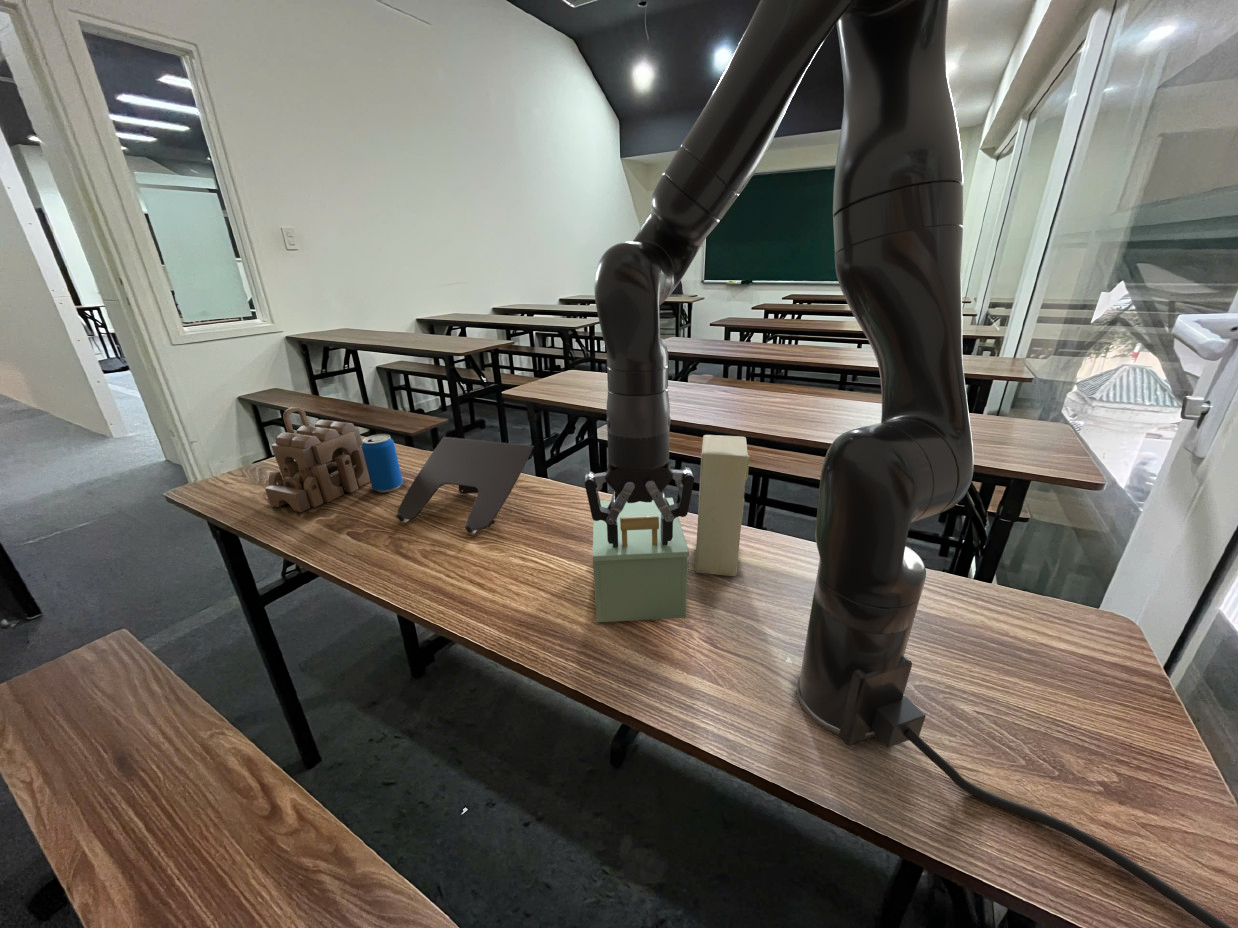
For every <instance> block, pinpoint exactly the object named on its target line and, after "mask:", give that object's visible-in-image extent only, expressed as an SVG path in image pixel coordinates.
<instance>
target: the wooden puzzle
mask: <svg viewBox="0 0 1238 928" xmlns="http://www.w3.org/2000/svg"><path fill="white" fill-rule="evenodd" d="M294 412H295V413H296V412H297V413H298V415H299V417H300V421H301V424H302V425H301V426H300V427H298V429H296V433H295V431H294V427H293V425H292V421H291V418H290V416H291V414H293V413H294ZM282 418H283V422H284V425H285V429H286V431H285V432H283V431H282V432H280V433H279V434H278V435H277V436H276V437H275V443H273V444H271V449H272V452H273V454H274V457H275V461H276V463H277V466H278V468H279V471H276V470H272V472H271V473H270V474H269V476H268V485H269V486H266V487H265V488H264V490H265V493H266V496H267V499H268V501H269V504H270V506H272V507H276V508H280V507H282V506H285V505H287V504H288V505H289V506H290V507H291V509H292V511H294V512H298V513H304V512H306V511H307V510H309V509H311V507H312V508H317V507H319V506H321V505H323V504H324V503H330V502H332V501H333V500H336V499H338V498H339V497H341V496H344V495H345V492H346V493H350V494H351V493H353V492H355V491H357V490H359V489H360V487H362V486H364V485H366V484H368V483H371V481H370V477H369V474H368V470H367V466H366V462H365V458H364V454H363V450H362V444H363V442H362V440H363V439H362V436H361V432H360V429H359V428H357V427H356V426H355V425H354V423H352V422H346V421H345V422H344V421H337V420H329V419H319V420H318V421H317V422H316V423H314V426H312V425H309V420H308V418H307V414H306V411H305V410H304V409H303V408H302V407H299V406H292V407H289V408H287V409H285V410H284V412H283V415H282Z"/></svg>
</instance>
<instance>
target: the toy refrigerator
mask: <svg viewBox="0 0 1238 928" xmlns="http://www.w3.org/2000/svg"><path fill="white" fill-rule="evenodd" d="M750 457H751V456H750V454H748V444H747V438H746V436H739V435H716V434H704V435H703V437H702V446H701V456H700V474H699V491H698V492H699V493H698V509H697V513H698V514H697V526H696V527H697V529H696V544H695V545H696V546H695V547H696V548H695V564H694V565H695V566H694V572H695V573H698V574H707V575H709V574H710V575H717V576H726V577H736V576H737V573H738V563H739V551H740V542H741V531H742V522H743V518H744V510H745V509H744V508H745V489H746V480H748V478H749V477H748V476H749V470H750V469H749V467H750V460H751V459H750Z"/></svg>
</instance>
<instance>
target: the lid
mask: <svg viewBox="0 0 1238 928" xmlns="http://www.w3.org/2000/svg"><path fill="white" fill-rule="evenodd" d="M666 499H667V501H668V503H669V505H673V504H675V502H674V498H673V497H666ZM610 501H611V499H610V500H600V503H601V507H605V508H608V505H609V503H610ZM617 524H618V547H617V548H613V544H609V542H608V539H607V524H606V522H605V521H602V520H599V521H594V520H593V519H592V562H593V561H609V560H630V559H651V558H673V557H688V558H689V557H690V550H689V547H688V543H687V540H686V537H685V534H684V530H683V527H682V524H681V521H680V516H679V517H676V518H675V519H674V520H673V538H672V540H671V541H668V545H662V542H661V512H660V510H659V509H658V508H657V506H656V504H655V502H654V500H652V502H641V501H639V502H635V503H627V502H626V504H625V506H624V508H623V510H622V511H621V512H620V514H619V516H618V518H617Z"/></svg>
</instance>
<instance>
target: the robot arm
mask: <svg viewBox="0 0 1238 928" xmlns="http://www.w3.org/2000/svg"><path fill="white" fill-rule="evenodd" d="M948 14H949V0H760V1H759V3H758V5H757V6H756V9H755V11H754V13H753V15H752V18H750V21H749V23H748V26H746V27H747V28H746V30H745V31H744V33H743V35H742V37H741V39H740V41H739V43H738V46H737V47H736V50H734V51H735V52H734V53H733V56H732V57H731V59H730V61H729V63H728V65H727V66H726V68H725V71H724V72H723V74H722V76H721V77H720V80H719V82H718V84H717V85H716V86H715V89H714V90H713V91H712V94H711V95H710V97H709V100H708V101H707V103H706V105H705V107H704V108H703V110H702V111H701V113H700V115H699V116H698V118H697V119H696V120H695V123H694V124H693V126H692V127H691V129H690V130H689V132H688V133H687V135H686V136H685V138H684V140H683V141H682V143H681V145H680V146H679V147H678V149H677V150H676V152H675V154H674V155H673V157H672V158H671V160H670V161H669V163H668V165H667V167H665V170H664V171H663V173H662V175H661V176H660V177H659V180H658V181H657V183H656V185H655V187H654V188H653V191H652V193H651V196H650V208H651V209H650V212H649V213H648V215H647V216H646V218H645V220H644V222H643V224H642V226H641V227H640V229H639V231H638V232H637V234H636V236H635V237H634V238H633V240H632V241H622V242H619V243H616V244H614V245H612V246H610V247H609V248H608V249H606V250H605V252H603V254H602V256H601V257H600V259H599V260H598V263H597V265H596V270H595V274H594V286H593V287H594V288H593V289H594V290H593V291H594V301H595V307H596V312H597V317H598V322H599V327H600V331H601V336H602V339H603V343H604V345H605V349H606V376H607V378H606V379H607V396H606V397H607V398H606V419H605V420H606V421H605V423H606V430H607V433H606V435H607V436H606V437H607V457H608V465H607V468H606V469H605V471H604V472H598V473H594V472H593V471H587V472H586V473H585V474H584V475H585V476H584V488H585V493H586V496H587V500H588V505H589V511H590V514H591V515H590V516H591V518H592V521H593V520H594V521H599V520H602V521H605V522H606V524H607V539H608V542H609V544H613V548H617V547H618V524H617V518H618V516H619V514H620V512H621V511H622V510H623V508H624V506H625V504H626V502H627V503H635V502H639V501H641V502H652V500H654V502H655V504H656V506H657V508H658V509H659V510H660V512H661V542H662V545H668V541H671V540H672V538H673V520H674V519H675V518H676V517H679V518H680V517H681V518H685V517H687V516H688V514H689V508H690V504H691V498H692V493H693V487H694V483H695V477H694V474H693V472H692V470H691V468H690V467H684V468H682V469H673V468H672V467H671V466H670V426H671V419H672V418H671V416H670V415H671V411H670V410H671V407H670V406H671V405H670V398H669V351H668V345H667V342H666V341H665V340H664V339H663V338H662V337H661V322H660V321H661V320H660V306H661V305H662V304H663V303H664V302H665V301H666V300H667V299H668V298H669V297H670V296H671V295H672V294H673V292H674V291H675V289H676V288H677V287H678V285H679V284H680V282H681V281H682V279H683V278H684V276H685V275H686V273H687V272H688V269H689V268H690V266H691V264H692V263H693V261H694V259H695V257H696V256H697V254H698V252H699V250H700V249H701V247H702V245H703V243H704V242H705V240H706V239H707V238H708V236H709V235H710V234H711V232H713V230H714V229H715V228H716V227H717V225H718V224H719V223H720V221H721V220H722V219H723V218H724V216H725V215H726V213H727V212H728V211H729V209H730V208H731V206H732V205H733V204H734V203H735V201H736V200H737V199H738V198H739V195H740V194H741V193H742V192H743V191H744V190H745V188H746V186H747V185H748V184H749V182H750V181H751V179H752V178H753V176H754V174H755V172H756V171H757V169H759V166H760V164H761V163H762V161H763V159H764V158H765V155H766V153H767V152H768V150H769V148H770V146H771V144H772V142H773V140H774V138H775V135H776V133H777V131H778V129H779V127H780V124H781V122H782V120H783V118H784V116H785V114H786V111H787V110H788V107H789V105H790V103H791V101H792V98H793V97H794V95H795V93H796V91H797V89H798V87H799V86H800V83H801V81H802V79H803V77H804V75H805V74H806V71H807V70H808V68H809V66H810V65H811V63H812V61H813V59H814V58H815V57H816V55H817V53H818V51H819V50H820V48H821V46H822V45H823V44H824V42H825V41H826V39H827V37H828V36H829V34H830V33H831V31H832V30H833V29H834V27H835V25H836V29H837V37H838V43H839V51H840V60H841V69H842V75H843V76H842V77H843V78H842V79H843V112H842V121H841V127H840V135H839V139H838V146H837V153H836V159H835V167H834V169H835V170H834V177H833V178H834V179H833V189H832V190H833V193H832V218H833V219H832V223H833V224H832V225H833V226H832V227H833V245H834V246H833V248H834V265H835V266H834V267H835V273H836V278H837V281H838V286H839V287H840V290H841V292H842V295H843V298H844V299H845V302H846V303H847V305H848V307H849V309H850V311H851V313H852V315H853V317H854V319H855V320H856V322H857V323H858V325H859V328H860V329H861V331H862V332H863V334H864V335H865V337H866V339H867V341H868V344H869V345H870V347H871V349H872V351H873V354H874V357H875V359H876V364H877V366H878V367H877V368H878V371H879V376H880V377H879V378H880V379H879V380H880V391H881V416H880V417H881V418H880V423H875V424H870V425H866V426H861V427H858V428H853V429H850V430H848V431H846V432H845V431H844V432H843V433H841V434H840V435H838V436H837V437H836V439H834V440H833V442H832V443H831V444H830V446H829V448H828V450H827V451H826V454H825V456H824V459H823V462H822V467H821V473H820V479H819V487H818V498H817V509H816V511H817V512H816V520H815V532H814V533H815V535H814V536H815V544H816V548H817V552H818V556H819V557H818V558H819V560H818V561H819V562H818V567H817V573H816V579H815V585H814V590H813V595H812V602H811V608H810V614H809V619H808V624H807V625H808V626H807V631H806V637H805V642H804V643H805V644H804V650H803V654H802V660H801V661H802V662H801V668H800V674H799V677H798V681H797V687H796V696H797V699H798V702H799V705H800V706H801V708H802V710H803V711H804V713H805V714H806V715H807V716H808V717H809V718H810V719H811V720H812V721H813V722H814V723H816V724H817V725H818V726H819V727H821V728H822V729H824V730H825V731H828V732H829V733H831V734H834V735H836V736H838V737H839V738H840V739H841V740H842V741H843V742H844V743H845V744H846V745H852V744H855V743H858V742H861V741H863V740H867V739H870V738H871V739H872V738H874V737H877V738H878V739H879V740H880V741H881V742H882V744H883V745H884V746H885V747H886V748H887V749H889V748H891V747H895V746H897V745H899V744H903V743H906V742H908V741H910V742H911V744H913V745H914V746H915V748H917V749H918V750H919V751H920V752H922V754H924V755H925V756H926V757H927V758H928V759H929V760H930V761H931V762H933V764H935V765H936V766H937V767H938V768H939V769H940V770H941V771H942V772H943V773H945V775H947V776H948V778H949V779H950V780H951V781H952V782H953V783H954V784H955V785H956V786H958V787H959V788H960V789H962V790H964V791H965V792H967V793H968V794H970V795H972V796H973V797H975V798H977V799H979V800H981V801H983V802H985V803H988V804H989V805H992V806H995V807H997V808H999V809H1001V810H1004V811H1007V812H1010V813H1013V814H1015V815H1018V816H1021V817H1023V818H1025V819H1026V818H1027V819H1029V820H1032V821H1035V822H1037V823H1040V824H1042V825H1045V826H1047V827H1049V828H1051V829H1054V830H1055V831H1058V832H1060V833H1062V834H1064V835H1066V836H1069V837H1071V838H1072V839H1074V840H1076V841H1078V842H1080V843H1081V844H1083V845H1085V846H1087V847H1089V848H1090V849H1092V850H1094V851H1095V852H1097V853H1098V854H1100V855H1102V856H1104V857H1105V858H1107V859H1108V860H1110V861H1112V862H1113V863H1115V864H1116V865H1118V866H1119V867H1121V868H1122V869H1124V870H1126V871H1127V872H1128V873H1130V874H1131V875H1133V876H1134V877H1136V878H1138V879H1139V880H1140V881H1142V882H1143V883H1145V884H1146V885H1147V886H1149V887H1151V888H1152V889H1154V890H1155V891H1157V892H1158V893H1159V894H1161V895H1162V896H1164V897H1165V898H1167V899H1168V900H1170V901H1171V902H1172V903H1174V904H1175V905H1177V906H1178V907H1180V908H1181V909H1182V910H1184V911H1185V912H1186V913H1188V914H1190V915H1191V916H1192V917H1194V918H1195V919H1197V920H1199V921H1200V922H1201V923H1202V924H1205V925H1206V926H1208V927H1209V928H1233V927H1232V926H1230V925H1229V924H1228V923H1226V922H1224V921H1222V920H1221V919H1219V918H1218V917H1216V916H1215V915H1214V914H1212V913H1210V912H1209V911H1208V910H1206V909H1204V908H1203V907H1202V906H1200V905H1198V904H1197V903H1196V902H1194V901H1192V900H1191V899H1190V898H1188V897H1186V896H1185V895H1183V894H1182V893H1181V892H1179V891H1178V890H1176V889H1174V888H1173V887H1171V886H1170V885H1168V884H1167V883H1166V882H1164V881H1163V880H1161V879H1160V878H1158V877H1157V876H1155V875H1154V874H1152V873H1151V872H1149V871H1148V870H1146V869H1145V868H1143V867H1142V866H1140V865H1139V864H1137V863H1136V862H1134V861H1133V860H1131V859H1130V858H1128V857H1126V856H1125V855H1123V854H1122V853H1120V852H1118V851H1117V850H1115V849H1114V848H1112V847H1110V846H1109V845H1107V844H1105V843H1104V842H1102V841H1100V840H1098V839H1096V838H1095V837H1093V836H1092V835H1090V834H1088V833H1087V832H1084V831H1082V830H1081V829H1079V828H1077V827H1074V826H1073V825H1071V824H1068V823H1067V822H1066V821H1063V820H1061V819H1059V818H1056V817H1054V816H1051V815H1049V814H1046V813H1044V812H1042V811H1040V810H1036V809H1033V808H1030V807H1028V806H1026V805H1022V804H1019V803H1016V802H1014V801H1011V800H1008V799H1005V798H1002V797H1000V796H997V795H995V794H993V793H991V792H989V791H986V790H984V789H982V788H981V787H979V786H976V785H975V784H973V783H971V782H970V781H968V780H967V779H965V778H964V777H963V776H962V775H961V774H960V773H959V772H958V771H957V770H956V769H955V768H954V767H953V766H952V765H951V764H950V763H948V762H947V761H946V760H945V759H944V758H943V757H942V756H941V755H940V754H938V753H937V752H936V751H935V750H934V749H933V748H932V747H931V746H930V745H929V744H927V742H925V741H924V740H923V739H922V738H921V737H920V735H921V732H922V728H923V725H924V723H925V719H926V717H927V716H926V714H925V713H924V712H923V711H922V710H921V709H920V708H919V707H917V705H916V704H915V703H914V702H912V700H910V699H909V697H908V696H906V695H905V691H906V689H907V685H908V681H909V677H910V674H911V671H912V667H913V662H912V660H911V659H909V658H908V657H907V656H906V655H905V654H906V650H907V647H908V644H909V640H910V635H911V631H912V629H913V625H914V621H915V618H916V613H917V610H918V608H919V607H918V606H919V604H920V600H921V596H922V593H923V590H924V587H925V583H926V578H927V569H926V566H925V563H924V561H923V560H922V558H921V557H920V555H918V553H917V552H916V551H914V550H913V549H912V548H910V547H909V546H907V541H908V540H907V539H908V534H909V530H910V527H911V524H913V523H915V522H918V521H922V520H924V519H928V518H931V517H934V516H936V515H939V514H942V513H944V512H946V511H949V510H950V509H953V508H954V507H955V506H957V504H959V503H960V502H961V501H962V500H963V499H964V497H965V496H966V494H967V493H968V490H969V489H970V487H971V484H972V480H973V475H974V462H975V461H974V444H973V437H972V435H973V434H972V427H971V421H970V419H971V418H970V413H969V405H968V395H967V390H966V388H967V387H966V381H965V371H964V357H963V288H962V287H963V286H962V285H963V284H962V257H963V241H964V240H963V239H964V238H963V237H964V174H963V173H964V172H963V160H962V157H963V156H962V149H961V147H962V146H961V141H960V140H961V139H960V133H959V127H958V120H957V117H956V111H955V107H954V102H953V97H952V92H951V88H950V84H949V77H948V71H947V60H946V59H947V58H946V41H947V40H946V37H947V24H948ZM672 480H674V483H675V486H676V487H677V488H678V489H677V494H676V500H675V502H674V504H673V505H669V503H668V501H667V499H666V498H667V497H666V495H665V493H664V490H665V489H666V488H667V486H668V485H669V484H670V482H671V481H672ZM604 483H606V484H608V486H609V487H610V488H611V489H612V491H614V492H613V493H612V495H611V499H610V500H611V501H610V503H609V505H608V508H605V507H601V503H600V501H601V499H600V494H599V492H600V491H602V489H603V485H604Z"/></svg>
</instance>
